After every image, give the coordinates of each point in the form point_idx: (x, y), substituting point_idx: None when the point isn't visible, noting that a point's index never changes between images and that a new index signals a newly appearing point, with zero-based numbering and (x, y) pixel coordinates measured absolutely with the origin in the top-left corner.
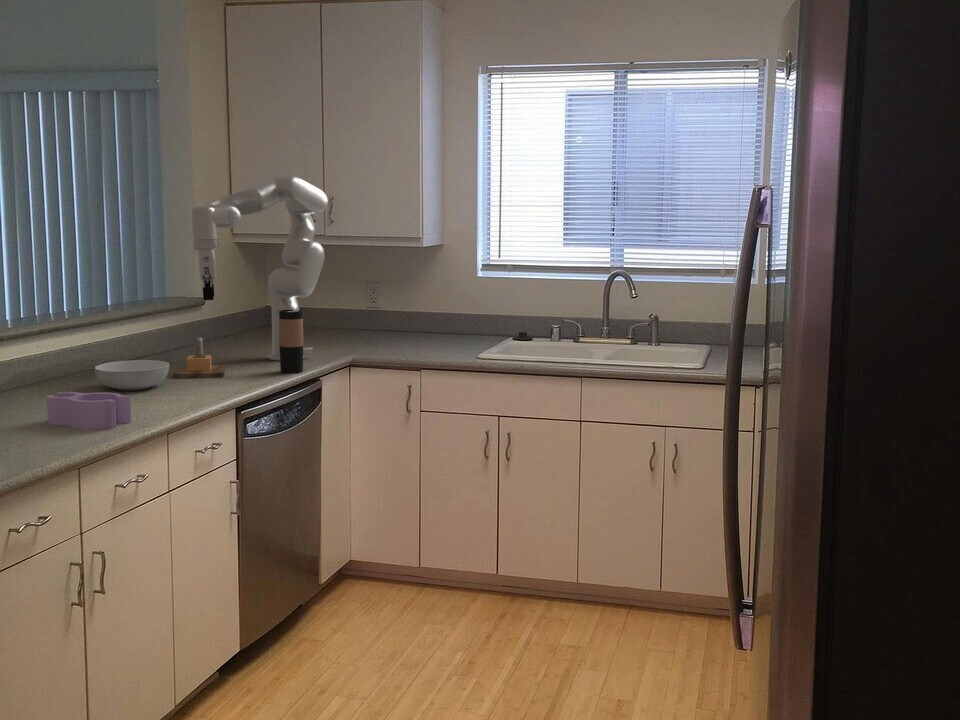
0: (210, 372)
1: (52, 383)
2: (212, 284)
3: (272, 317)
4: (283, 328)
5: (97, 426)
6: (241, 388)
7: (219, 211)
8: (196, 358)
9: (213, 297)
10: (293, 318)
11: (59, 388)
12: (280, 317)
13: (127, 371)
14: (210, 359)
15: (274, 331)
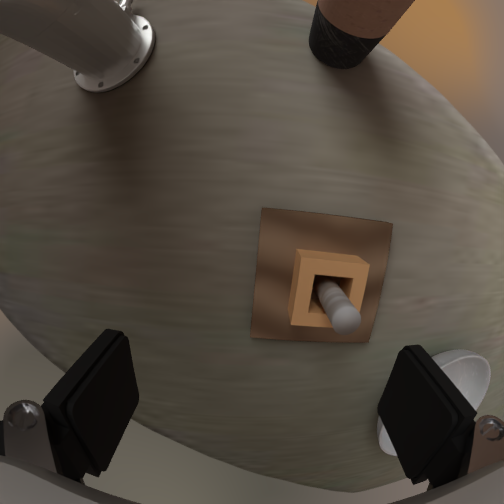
0: (382, 256)
1: (327, 477)
2: (66, 416)
3: (47, 35)
4: (409, 5)
5: None
6: (498, 202)
7: None
8: (358, 303)
9: (425, 352)
10: None
11: (373, 463)
12: None
13: (481, 401)
14: (339, 259)
15: (83, 44)
